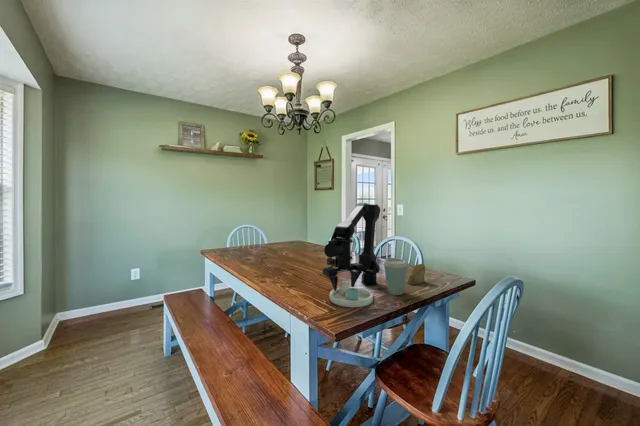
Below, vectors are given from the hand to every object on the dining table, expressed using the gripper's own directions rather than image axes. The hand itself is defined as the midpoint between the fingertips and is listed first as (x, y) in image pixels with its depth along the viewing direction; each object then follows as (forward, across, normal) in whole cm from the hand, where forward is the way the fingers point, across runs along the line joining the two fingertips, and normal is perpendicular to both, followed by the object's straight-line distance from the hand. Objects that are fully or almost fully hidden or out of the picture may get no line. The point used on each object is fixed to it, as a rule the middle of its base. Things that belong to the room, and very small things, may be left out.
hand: (343, 288), depth 126 cm
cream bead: (+2, 0, 0) cm, 2 cm away
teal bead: (+2, +3, +10) cm, 10 cm away
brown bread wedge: (+3, -42, +3) cm, 42 cm away
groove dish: (+3, 0, +5) cm, 6 cm away
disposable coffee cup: (+3, -22, +9) cm, 24 cm away
